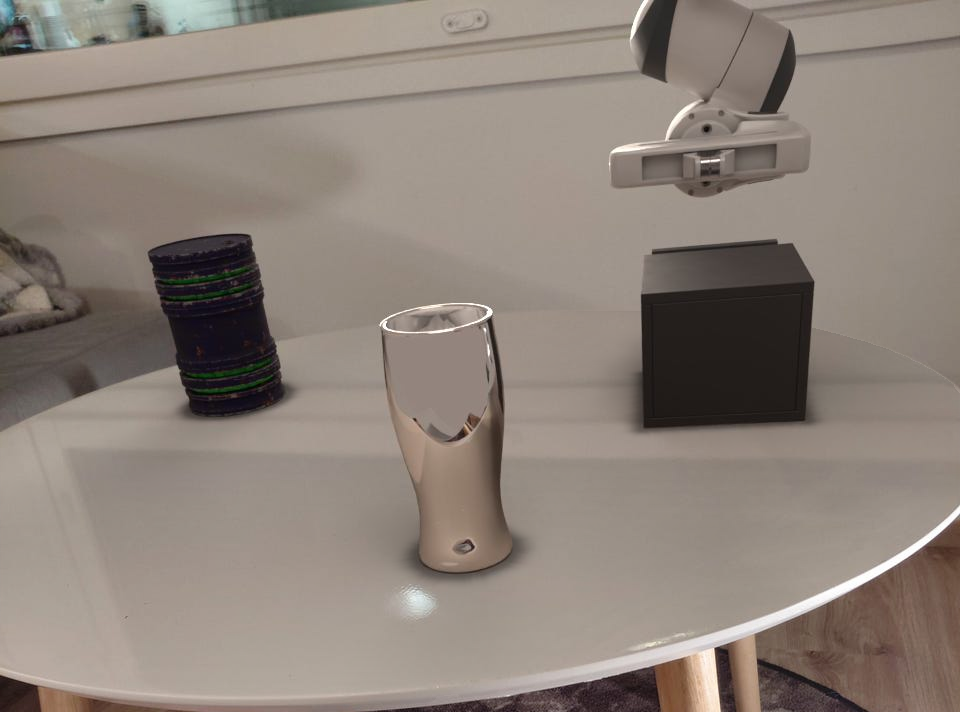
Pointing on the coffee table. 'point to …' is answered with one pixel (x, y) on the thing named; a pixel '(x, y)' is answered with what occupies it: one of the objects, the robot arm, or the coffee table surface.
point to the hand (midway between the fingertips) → (710, 168)
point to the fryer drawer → (715, 246)
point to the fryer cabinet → (725, 336)
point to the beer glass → (450, 429)
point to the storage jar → (218, 323)
